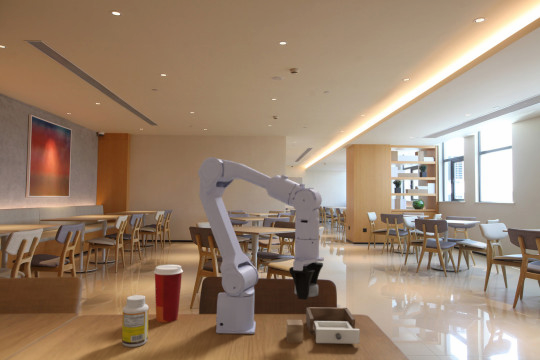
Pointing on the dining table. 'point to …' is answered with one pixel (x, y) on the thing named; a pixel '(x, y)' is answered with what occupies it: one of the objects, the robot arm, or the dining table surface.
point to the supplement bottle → (135, 321)
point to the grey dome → (311, 290)
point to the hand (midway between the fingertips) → (306, 295)
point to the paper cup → (167, 292)
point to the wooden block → (295, 331)
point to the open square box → (327, 316)
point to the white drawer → (336, 332)
